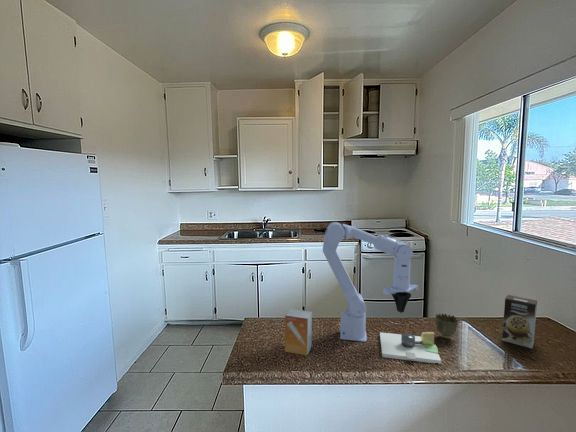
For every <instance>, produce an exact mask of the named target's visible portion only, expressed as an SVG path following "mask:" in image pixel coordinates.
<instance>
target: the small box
mask: <svg viewBox="0 0 576 432" xmlns="http://www.w3.org/2000/svg"><path fill="white" fill-rule="evenodd" d="M284 318H285V319H284V352H285V353H292V354H296V355H303V356H308V355H309V353H310V350H311V348H312V344H313V342H312V340H313V339H312V337H313V336H312V334H313V333H312V332H313V331H312V330H313V328H312V327H313V311H308V310H303V309H302V310H301V309H293V308H290V309H289V310H288V311H287V312H286V314H285V317H284Z"/></svg>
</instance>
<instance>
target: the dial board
mask: <svg viewBox="0 0 576 432" xmlns="http://www.w3.org/2000/svg"><path fill="white" fill-rule="evenodd" d="M401 335H402V333H401V334H398V333H391V332H389V333H388V332H380V331H379V339H380V347H381V348H380V349H381V356H382V358H387V359H396V360H404V361H413V362H419V363H428V364H435V363H438V364H437V365H442V359H441V357H440V355H439V348H438V347H437V345H436V344H434V345H422V344H415V346H414V347H411V348H410V347H405V346H403V345H402V344H401ZM414 336H415V341H421V336H419V335H414Z"/></svg>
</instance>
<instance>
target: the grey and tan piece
mask: <svg viewBox="0 0 576 432" xmlns="http://www.w3.org/2000/svg"><path fill="white" fill-rule="evenodd" d="M415 336H416V335H414V334H413V333H412V334H411V333H409V332H404V333H401V344H402V345H403V346H405V347H410V348H411V347H414V346H415V344H422V345H435V333H434V332H433V331H421V336H420V337H421V341H415Z"/></svg>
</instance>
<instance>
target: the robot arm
mask: <svg viewBox="0 0 576 432" xmlns="http://www.w3.org/2000/svg"><path fill="white" fill-rule="evenodd" d="M324 231H325V232H324V237H323V243H322V244H323V245H322V253H323V254H324V256H325V259H326V260H327V263H328V265H329V266H330V268H331V270H332V273H333V275H334V276H335V279H336V280H337V283H338V284H339V285H338V286H340V288H341V291H342V292H343V295H344V297H345V299H346V301H347V307H348V308H347V309H346V311H341V313H340V325H339V333H340V334H339V335H340V336H339V338H340V340H346V341H347V340H348V341H356V342H362V343H363V342H364V343H365V342H367V331H366V325H367V324H366V323H367V322H366V321H367V318H366V317H367V315H366V314H367V305H366V303H365V301H364V298H363V295H362V294H361V293H359V292H358V291H357V288H356V287H355V285H354V284H353V282H352V279H351V277H350V275H349V274H348V272H347V270H346V267H345V266H344V263H343V261H342V260H341V258H340V256H339V254H338V251H337V248H338V246H339V245H340V242H342V240H343V239H344V238H345V240H347V239H348V240H349V239H352V238H354V239H357V240H359V241H363V242H364V243H365V242H366V243H369V244H371V245H373V247H374V249H375V250H377V251H380V252H382V253H384V254H387V255H390V256H393V257H394V261H393V276H392V277H393V281H392V282H393V283H392V285H391V286H389V287H386V288H383V295H385V296H389V295H391V296H392V297H393V300H394V302H395V306H396V311H397V312H398V313H401V314H402V313H405V309H406V306H407V304H408V302H409V300H410V299H411V296H412V294H411V292H419V285H417V284H410V283H411V259H412V257H413V256H414V252H413V248H412V247H411V246H410V245H409V244H407V243H405V242H403V241H402V240H400V239H397V240H396V239H394V238H391V237H389V235H388V234H386V233H385V234H378V235H375V234H372V233H369V232H367V231H365V230H362V229H360V228H357V227H355V226H353V225H349V224H346V223H341V222H339V221H332V222H330V223H329V224H328V225H327V227H326V230H324Z"/></svg>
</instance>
